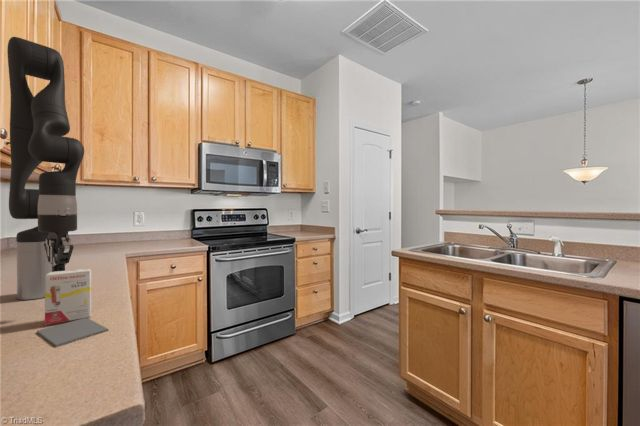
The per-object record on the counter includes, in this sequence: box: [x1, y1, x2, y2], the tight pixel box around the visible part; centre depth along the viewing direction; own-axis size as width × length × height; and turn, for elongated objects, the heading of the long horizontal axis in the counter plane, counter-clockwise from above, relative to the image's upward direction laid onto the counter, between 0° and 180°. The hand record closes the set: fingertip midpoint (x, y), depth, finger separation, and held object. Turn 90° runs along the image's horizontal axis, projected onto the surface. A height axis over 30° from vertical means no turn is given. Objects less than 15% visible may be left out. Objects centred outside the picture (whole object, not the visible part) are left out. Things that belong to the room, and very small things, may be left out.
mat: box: [36, 317, 109, 348], centre depth 64 cm, size 12×9×1 cm
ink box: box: [44, 268, 92, 326], centre depth 71 cm, size 9×5×12 cm, turn 127°
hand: (58, 279), depth 74 cm, fingers closed
